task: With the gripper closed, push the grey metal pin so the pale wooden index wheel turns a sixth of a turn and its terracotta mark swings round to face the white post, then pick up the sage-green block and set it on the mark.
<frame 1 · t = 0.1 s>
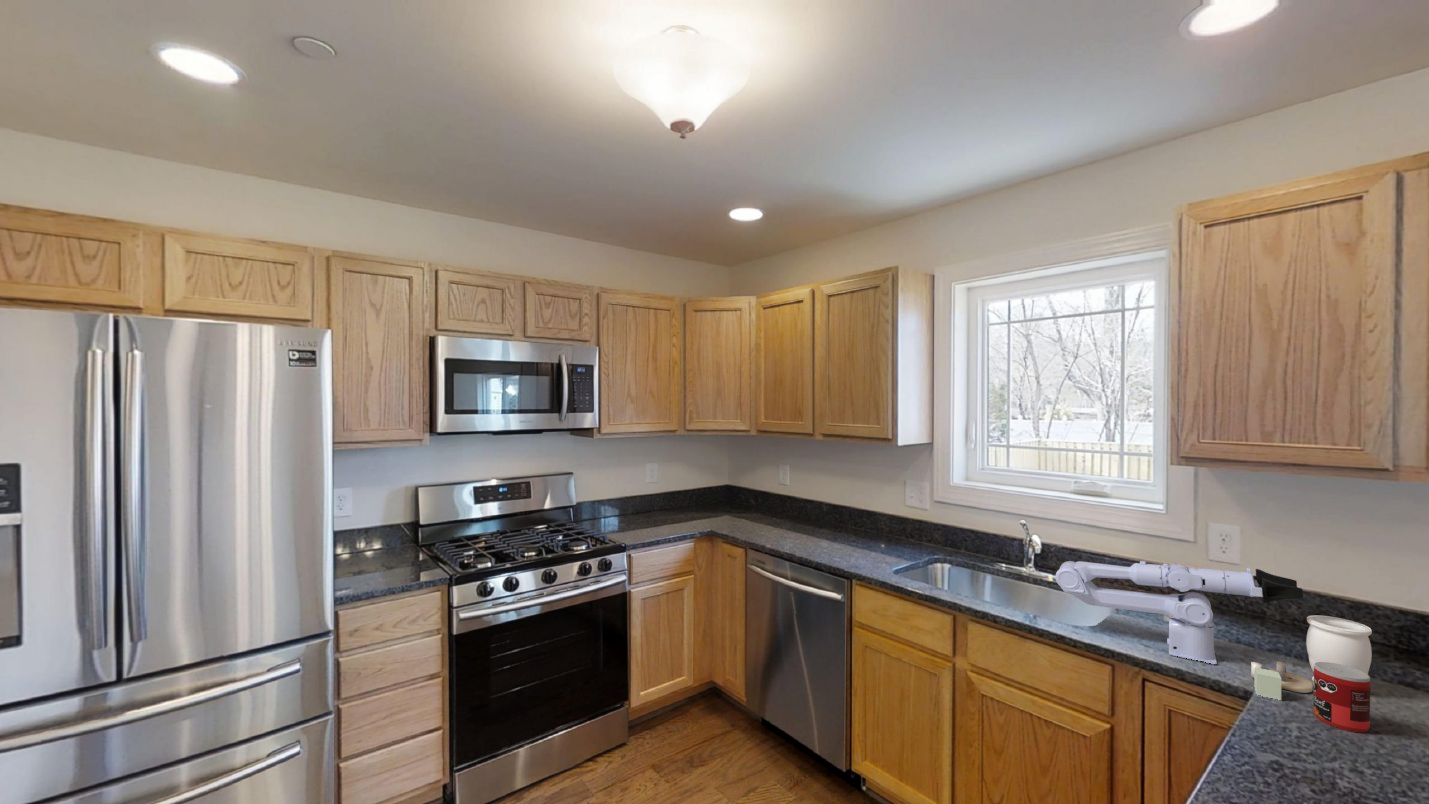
hand: (1299, 589, 139), 22 cm above the counter, tool horizontal, fingers open, 7 cm apart
index wheel: (1288, 672, 136), point 3 cm above the counter, hinge at 0.0°
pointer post: (1256, 678, 139), on the counter
link block: (1267, 694, 132), on the counter
canned food: (1340, 723, 120), on the counter
jar: (1337, 687, 136), on the counter
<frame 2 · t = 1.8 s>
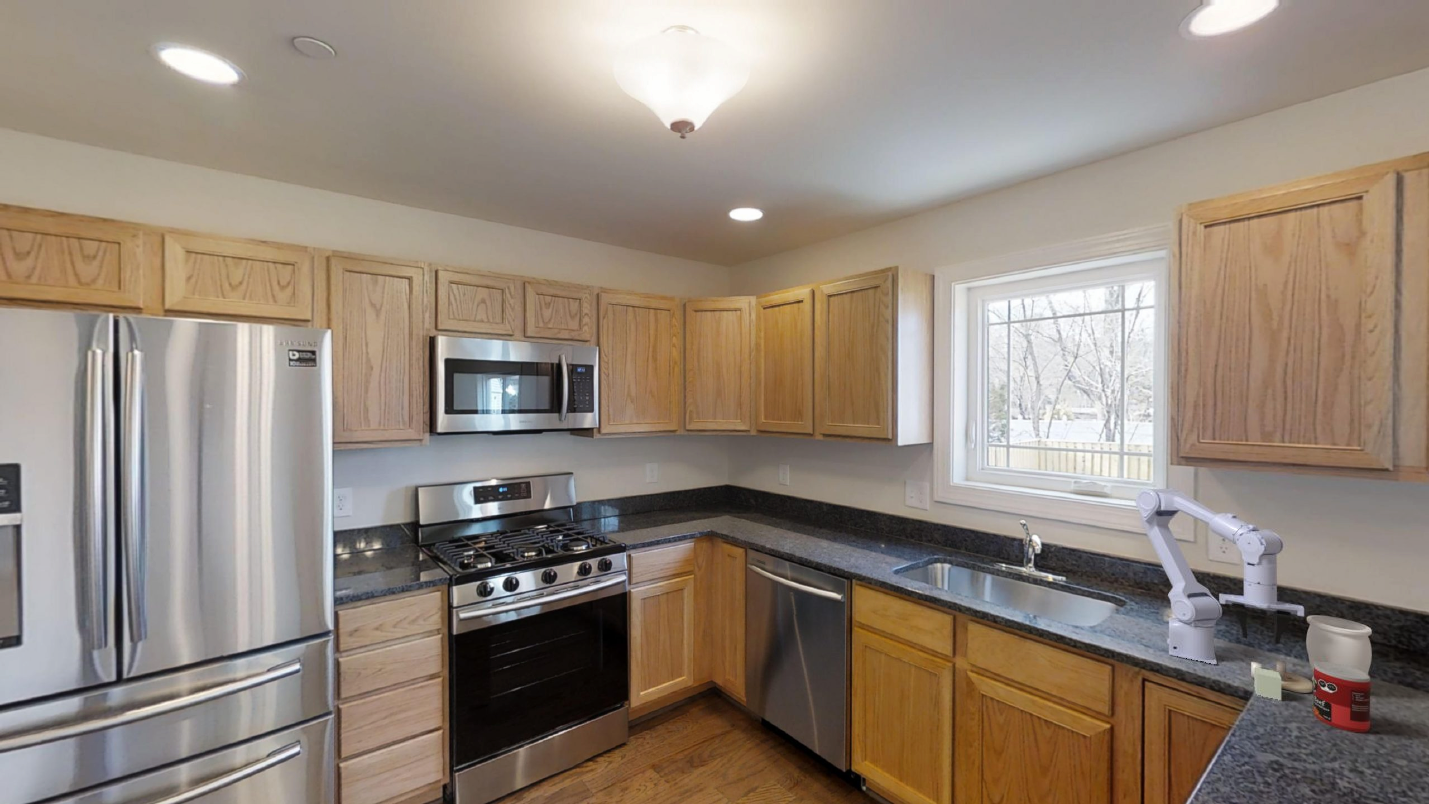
hand: (1260, 639, 137), 10 cm above the counter, tool pointing down, fingers open, 5 cm apart
nothing on the counter moved.
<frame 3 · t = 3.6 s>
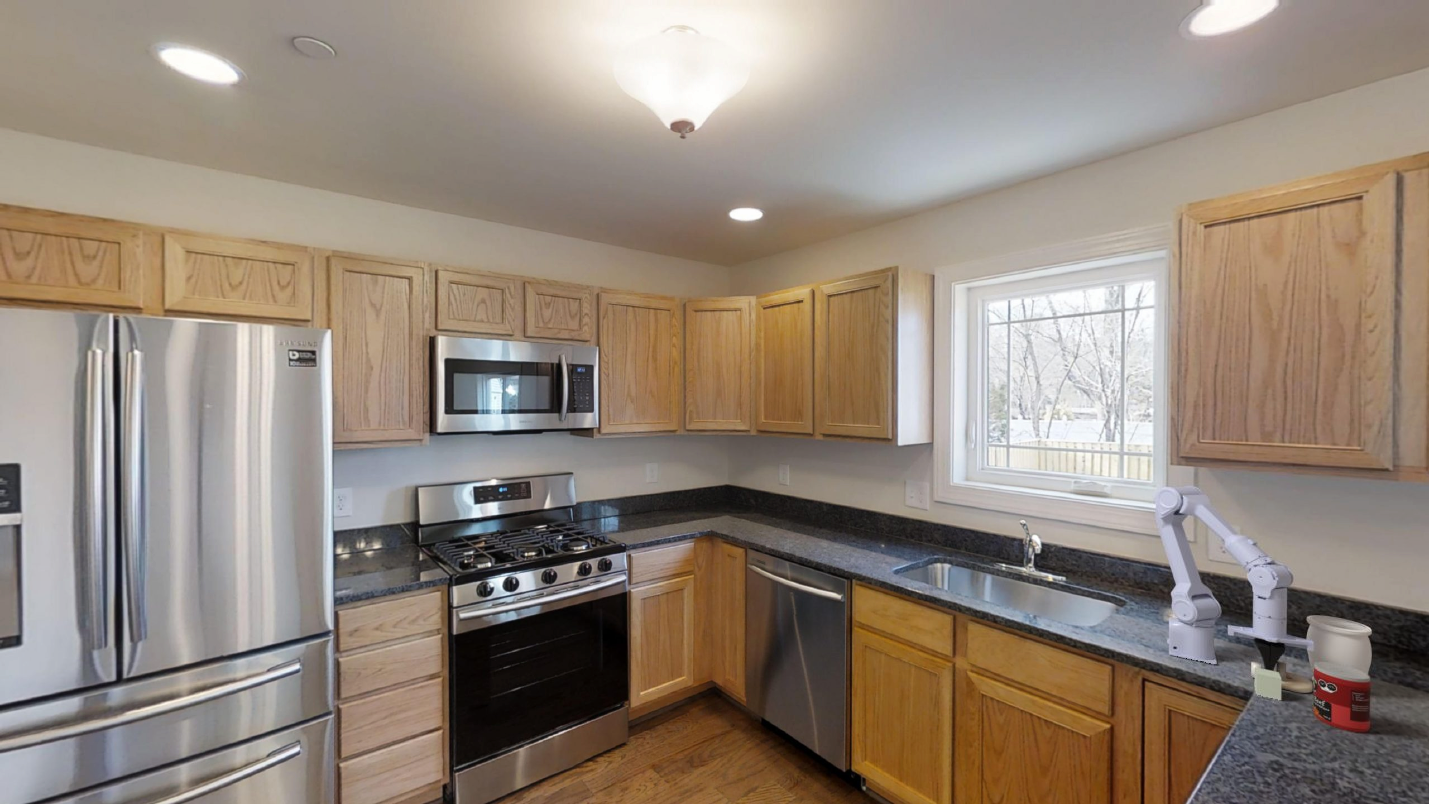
hand: (1268, 672, 136), 3 cm above the counter, tool pointing down, fingers closed, pressing on index wheel
index wheel: (1288, 672, 136), point 3 cm above the counter, hinge at 0.0°, touching gripper
everything else where it was.
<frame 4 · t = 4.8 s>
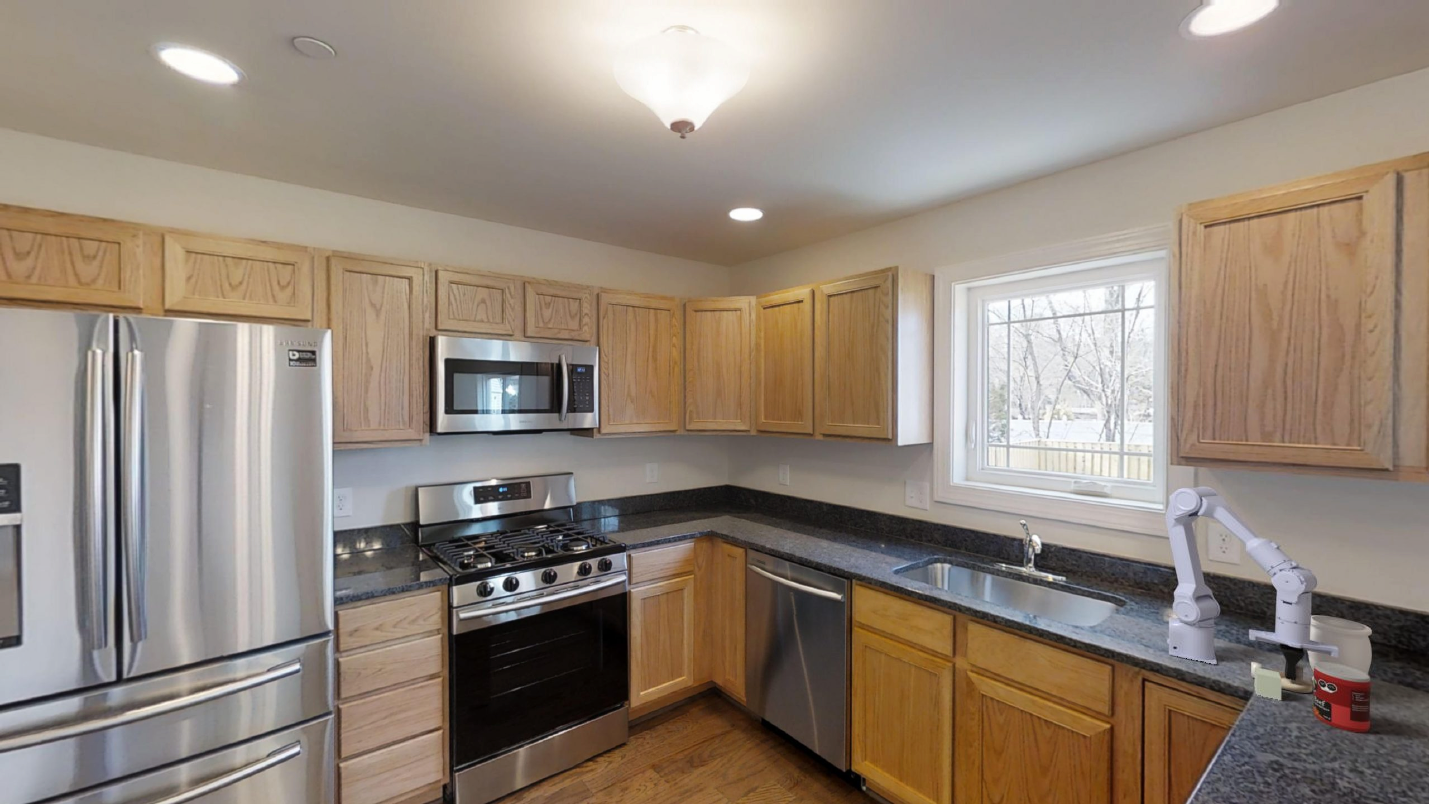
hand: (1290, 678, 134), 3 cm above the counter, tool pointing down, fingers closed, pressing on index wheel
index wheel: (1288, 672, 136), point 3 cm above the counter, hinge at 55.5°, touching gripper
everything else where it was.
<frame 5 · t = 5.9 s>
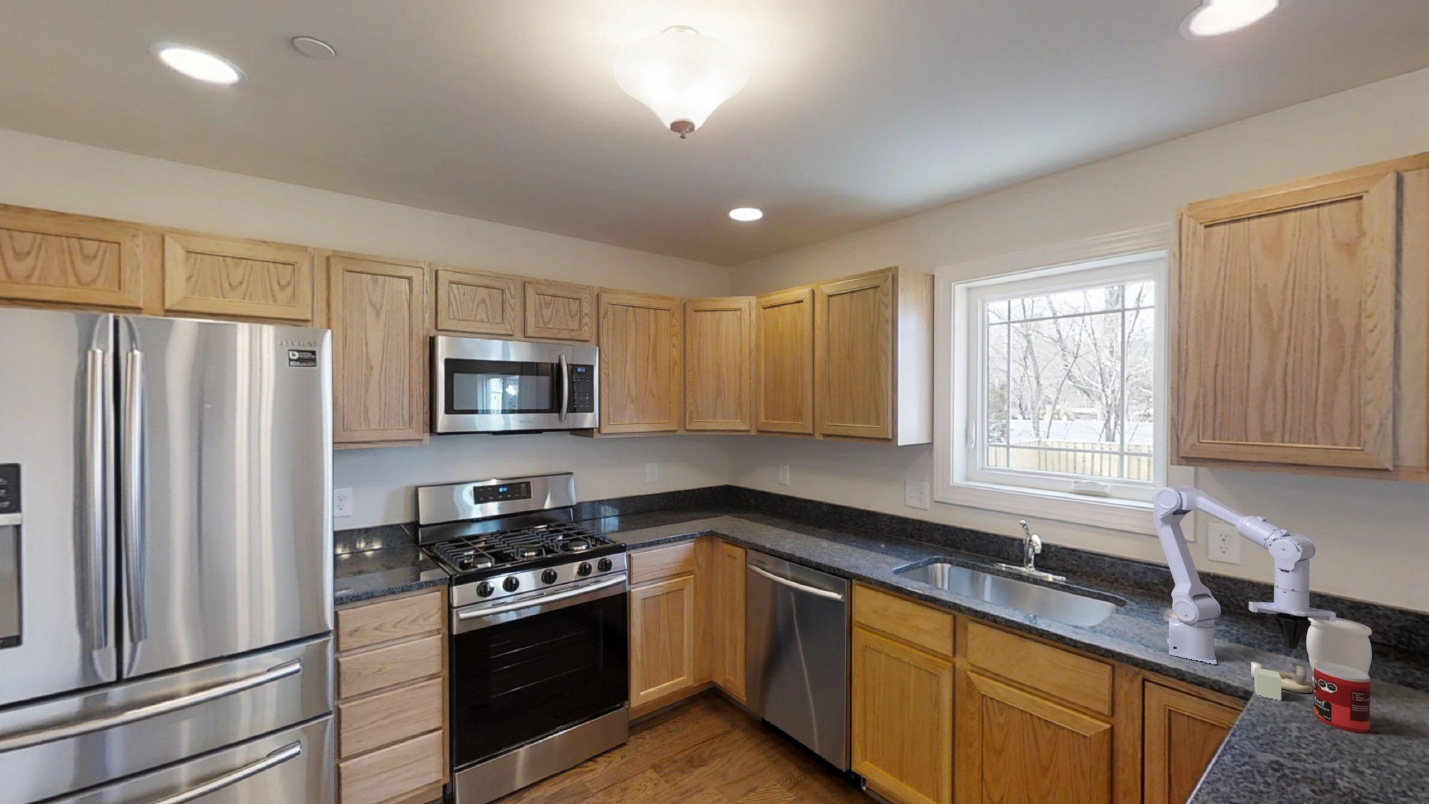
hand: (1290, 647, 133), 10 cm above the counter, tool pointing down, fingers closed
index wheel: (1288, 672, 136), point 3 cm above the counter, hinge at 68.4°
everything else where it was.
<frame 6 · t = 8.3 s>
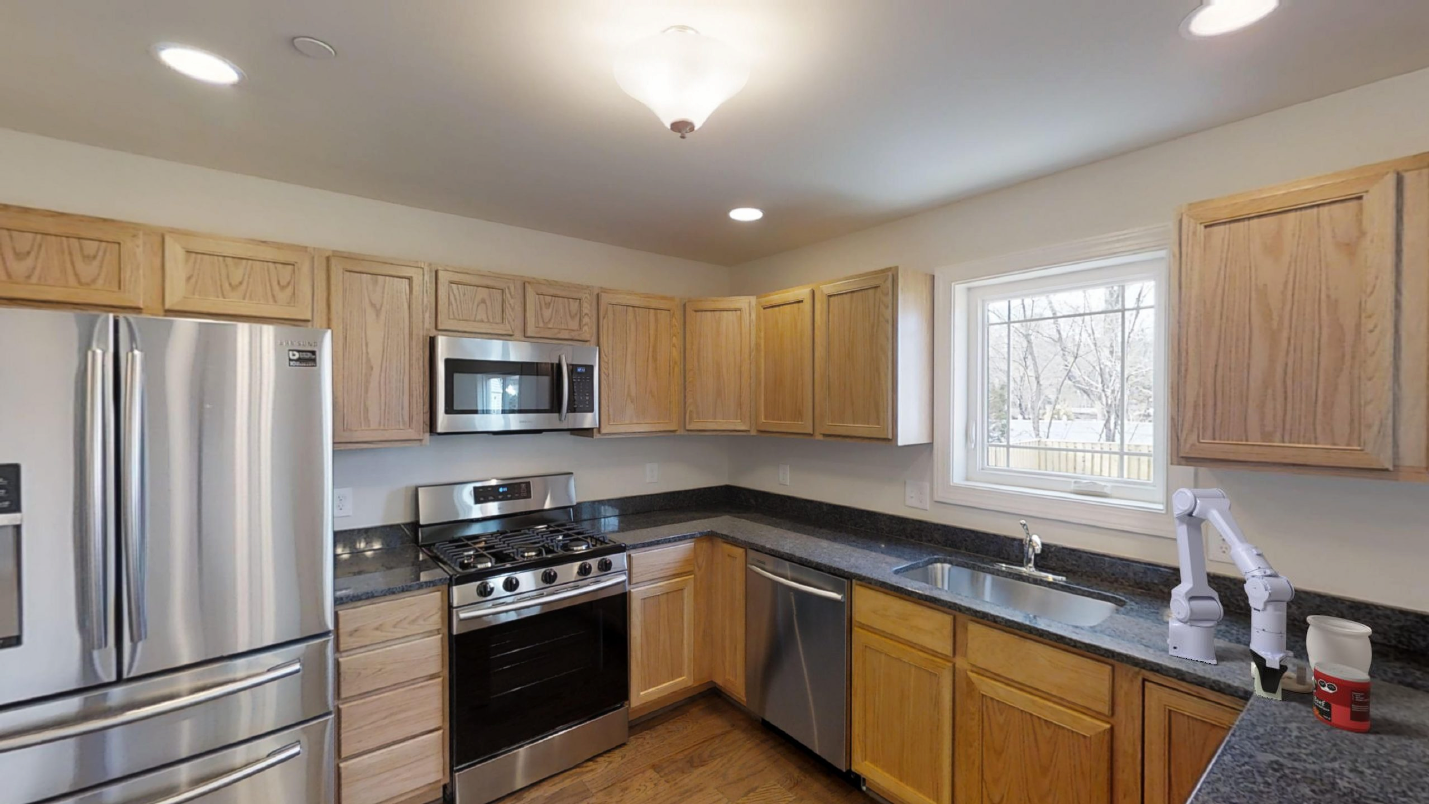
hand: (1267, 688, 132), 1 cm above the counter, tool pointing down, fingers closed on link block, 4 cm apart
link block: (1267, 694, 132), on the counter, touching gripper
everything else where it was.
when the fingers open (4 cm above the counter, at t = 11.3 s): link block drops 1 cm, resting on index wheel.
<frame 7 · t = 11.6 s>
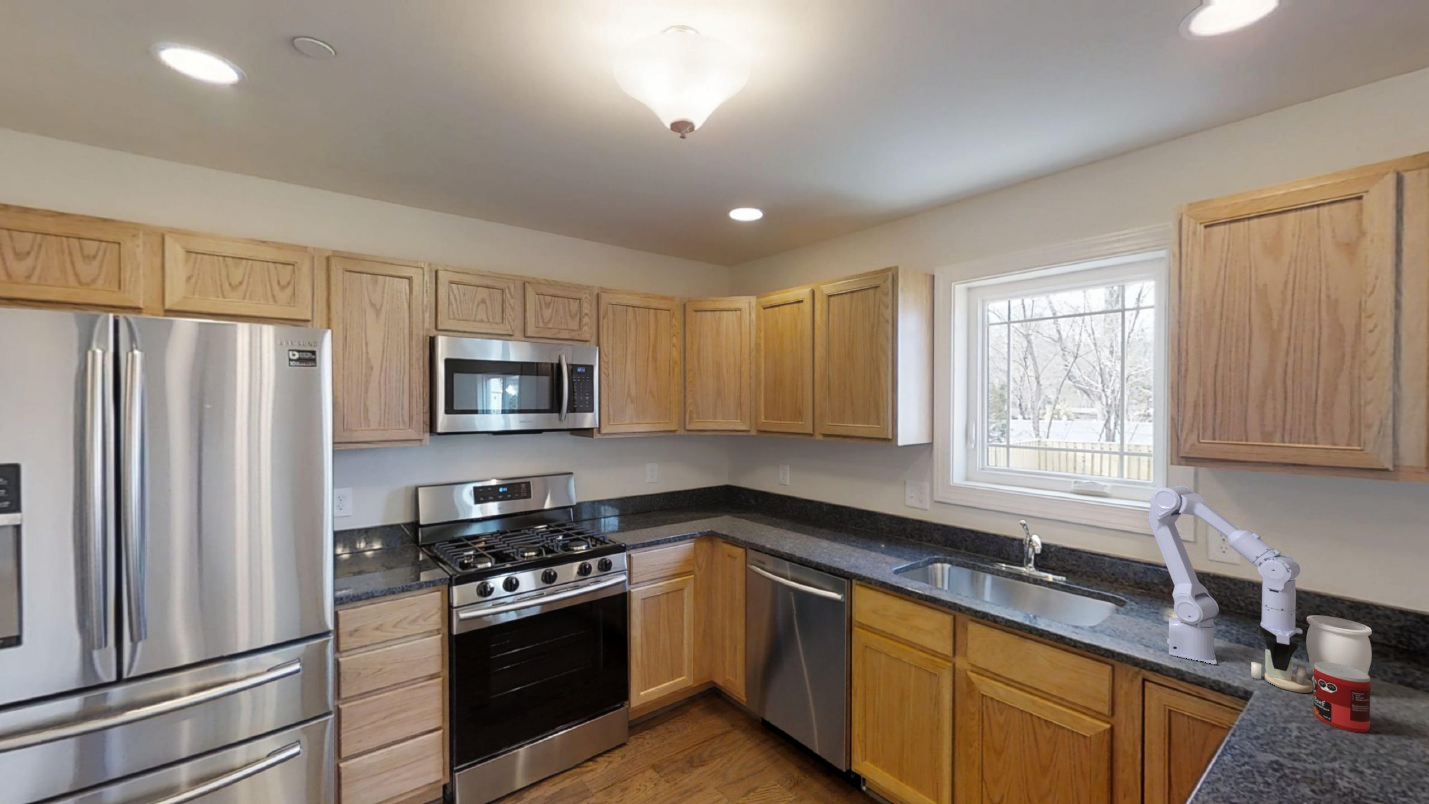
hand: (1277, 664, 137), 4 cm above the counter, tool pointing down, fingers open, 6 cm apart
index wheel: (1288, 672, 136), point 3 cm above the counter, hinge at 68.5°, touching link block
link block: (1277, 675, 137), point 2 cm above the counter, touching index wheel
everything else where it was.
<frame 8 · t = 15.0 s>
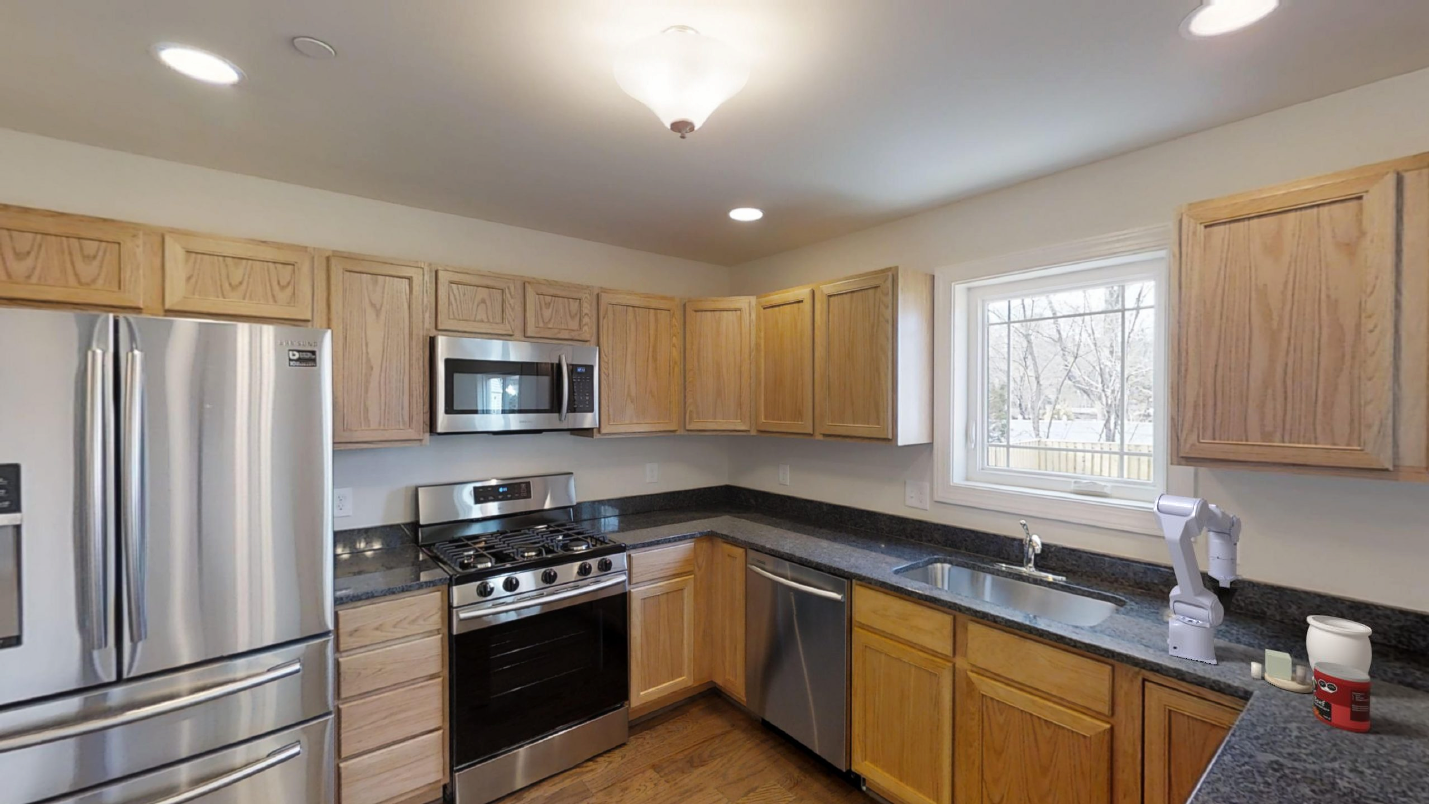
hand: (1222, 606, 159), 10 cm above the counter, tool pointing down, fingers open, 7 cm apart
nothing on the counter moved.
at the end: index wheel at +68° (first picture: +0°); link block 0.1 cm from the target spot, point 1.8 cm above the counter; link block tilted 0° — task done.
